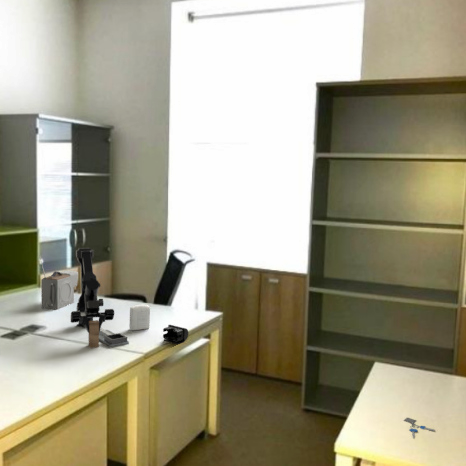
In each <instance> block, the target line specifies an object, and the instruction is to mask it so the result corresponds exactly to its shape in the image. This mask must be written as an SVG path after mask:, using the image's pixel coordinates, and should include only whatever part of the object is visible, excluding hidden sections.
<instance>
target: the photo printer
mask: <svg viewBox="0 0 466 466" xmlns="http://www.w3.org/2000/svg"><path fill="white" fill-rule="evenodd" d="M150 312H151V308H150V306H149V305H148V304H142V303H141V304H136V305H132V306H131V307H130V308H129V331H139V330H146V329H149V328H150V321H151V320H150V314H151V313H150Z"/></svg>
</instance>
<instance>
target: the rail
mask: <svg viewBox="0 0 466 466" xmlns="http://www.w3.org/2000/svg"><path fill="white" fill-rule="evenodd" d="M99 342H101V343H103V344H104V345H106V346H108V347H109V348H113V347H118V346H123V345H124V346H125V345H129V344H130V341H128V336H125V335H124V334H122V333H121V332H119V333H115V332H112V331H111V330H110V329H104V328H102V327H101V328H100V332H99Z"/></svg>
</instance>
